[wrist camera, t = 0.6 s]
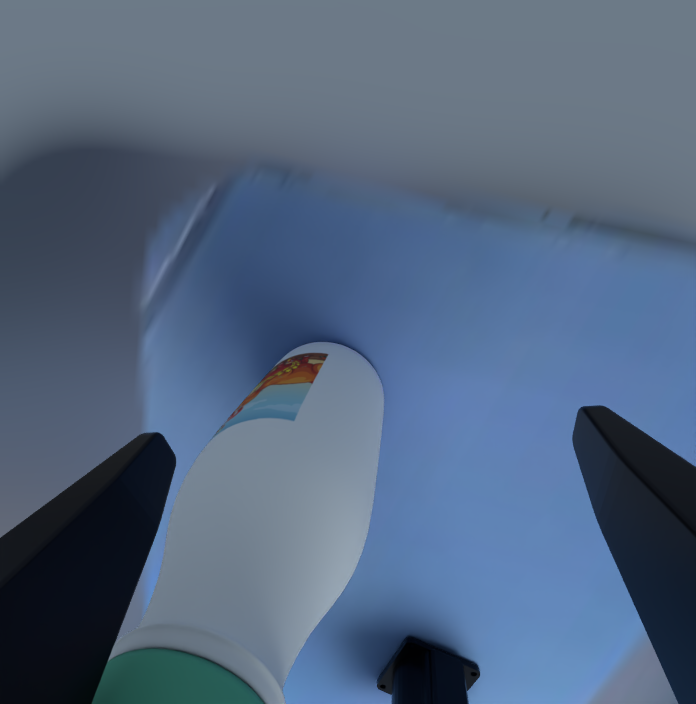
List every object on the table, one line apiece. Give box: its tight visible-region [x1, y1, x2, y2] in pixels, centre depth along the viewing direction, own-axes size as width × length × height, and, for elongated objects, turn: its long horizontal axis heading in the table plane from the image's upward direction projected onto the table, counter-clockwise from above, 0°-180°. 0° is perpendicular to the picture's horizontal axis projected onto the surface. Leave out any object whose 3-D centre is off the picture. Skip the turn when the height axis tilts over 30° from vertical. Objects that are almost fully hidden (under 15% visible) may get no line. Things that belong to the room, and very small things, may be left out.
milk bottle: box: [92, 342, 384, 704], centre depth 17 cm, size 8×8×20 cm
